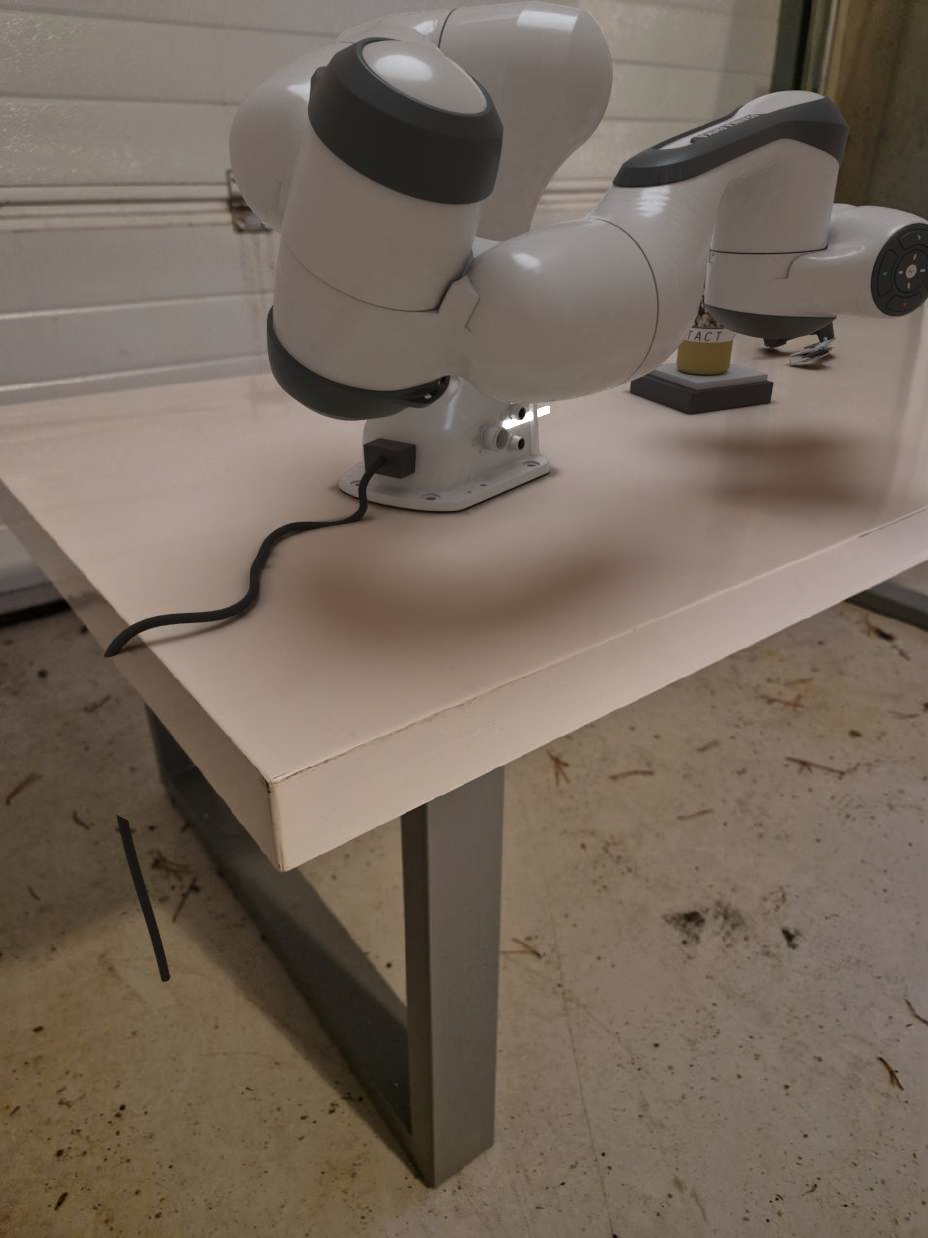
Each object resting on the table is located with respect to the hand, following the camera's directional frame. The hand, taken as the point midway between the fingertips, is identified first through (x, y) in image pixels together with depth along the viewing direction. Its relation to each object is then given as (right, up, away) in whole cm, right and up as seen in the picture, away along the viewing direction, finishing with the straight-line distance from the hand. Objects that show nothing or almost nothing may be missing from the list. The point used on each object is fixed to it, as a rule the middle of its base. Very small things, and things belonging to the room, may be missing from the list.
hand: (754, 241), depth 92 cm
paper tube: (-1, -9, +17) cm, 19 cm away
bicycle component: (+20, 0, +40) cm, 45 cm away
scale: (-1, -12, +19) cm, 22 cm away
